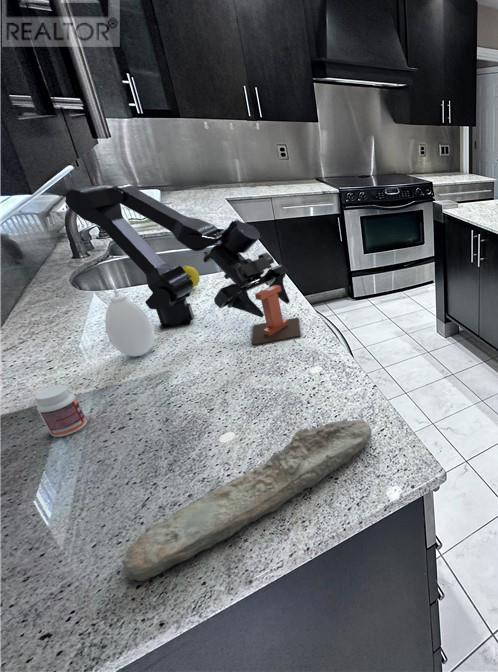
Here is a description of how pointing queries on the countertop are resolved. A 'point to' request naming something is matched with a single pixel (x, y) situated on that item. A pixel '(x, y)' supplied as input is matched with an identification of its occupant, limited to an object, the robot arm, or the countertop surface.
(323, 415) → the countertop surface
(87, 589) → the countertop surface
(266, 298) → the letter I
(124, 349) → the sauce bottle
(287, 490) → the long grey stone
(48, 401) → the pill bottle
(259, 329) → the dark brown square tile
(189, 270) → the lemon
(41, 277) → the countertop surface
